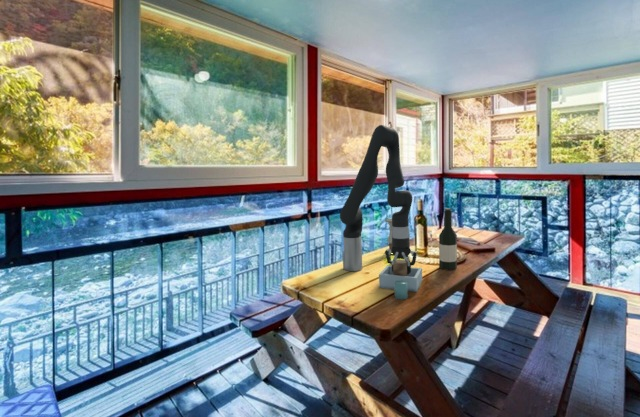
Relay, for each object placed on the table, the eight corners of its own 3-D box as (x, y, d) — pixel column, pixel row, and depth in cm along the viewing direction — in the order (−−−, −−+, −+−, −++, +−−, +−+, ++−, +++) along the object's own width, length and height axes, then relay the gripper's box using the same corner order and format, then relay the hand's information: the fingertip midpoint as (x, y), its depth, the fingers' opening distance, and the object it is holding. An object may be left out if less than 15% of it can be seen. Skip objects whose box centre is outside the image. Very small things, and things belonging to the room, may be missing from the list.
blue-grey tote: (379, 287, 148) (379, 274, 147) (387, 277, 160) (387, 265, 160) (416, 292, 141) (416, 278, 140) (422, 281, 153) (422, 268, 153)
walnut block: (393, 277, 148) (393, 264, 148) (396, 272, 155) (396, 259, 154) (406, 278, 146) (405, 265, 145) (409, 273, 152) (408, 260, 152)
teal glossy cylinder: (393, 298, 136) (393, 284, 135) (396, 293, 140) (396, 280, 139) (406, 300, 134) (405, 285, 133) (408, 295, 138) (408, 281, 137)
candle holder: (388, 255, 197) (387, 221, 195) (382, 251, 206) (382, 219, 203) (402, 254, 199) (401, 220, 196) (396, 250, 207) (395, 218, 205)
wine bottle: (458, 270, 165) (458, 209, 161) (440, 270, 167) (440, 210, 163) (455, 265, 173) (455, 207, 169) (438, 265, 175) (437, 207, 171)
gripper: (382, 237, 148) (383, 274, 150) (415, 238, 142) (416, 277, 144) (386, 233, 154) (387, 269, 157) (418, 234, 148) (419, 272, 151)
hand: (401, 273), depth 150 cm, fingers closed on walnut block, 5 cm apart
